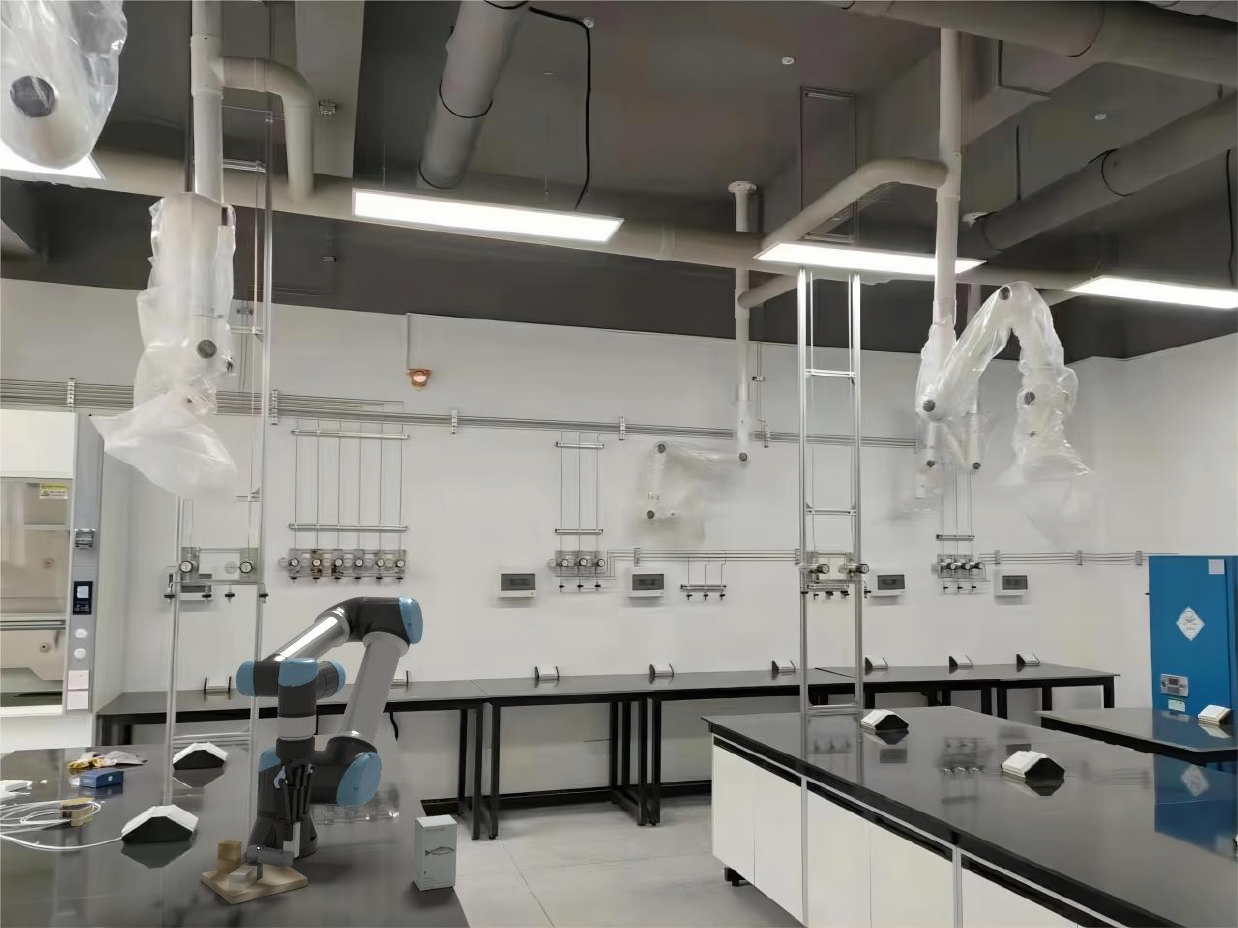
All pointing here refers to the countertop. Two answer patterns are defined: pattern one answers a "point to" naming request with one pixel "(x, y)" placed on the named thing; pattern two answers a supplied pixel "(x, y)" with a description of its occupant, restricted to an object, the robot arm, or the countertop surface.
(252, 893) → the lock plate
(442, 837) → the supplement box
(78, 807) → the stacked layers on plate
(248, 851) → the swing bar
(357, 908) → the countertop surface
